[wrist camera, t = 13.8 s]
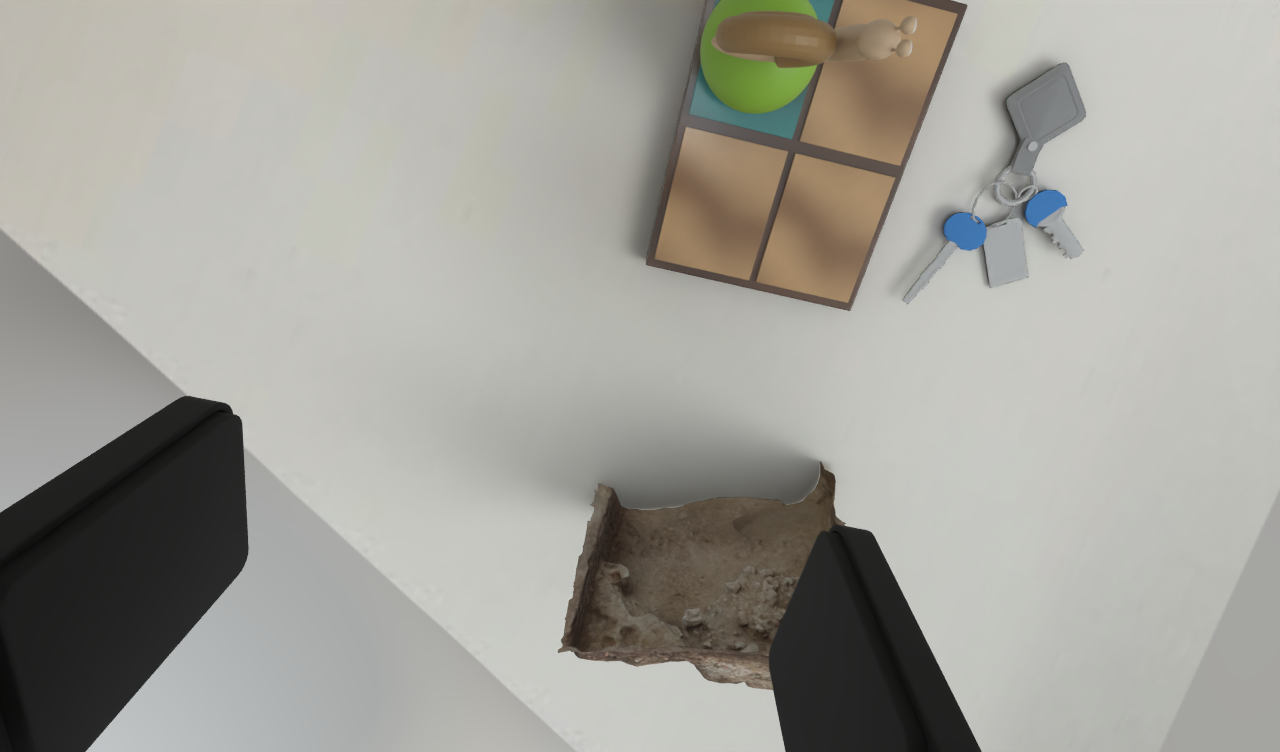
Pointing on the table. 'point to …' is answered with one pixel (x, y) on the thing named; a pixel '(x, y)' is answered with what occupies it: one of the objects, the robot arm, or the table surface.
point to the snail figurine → (784, 49)
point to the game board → (800, 164)
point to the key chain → (1037, 121)
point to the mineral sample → (693, 581)
